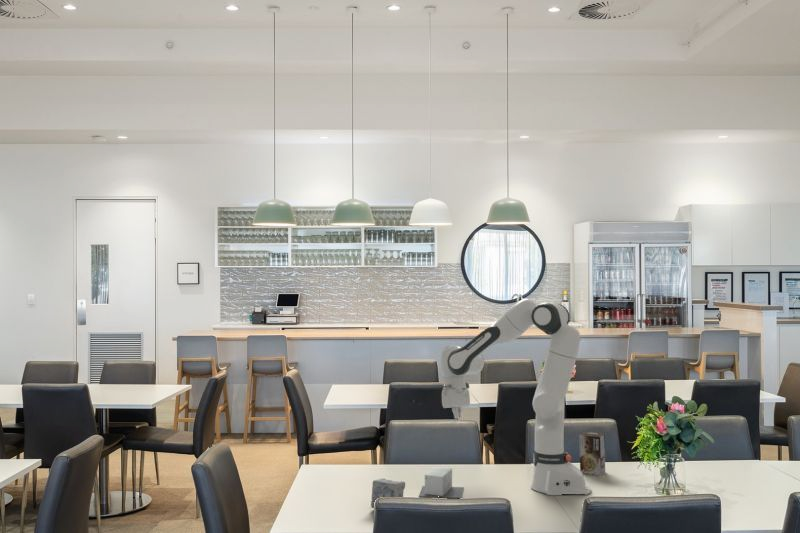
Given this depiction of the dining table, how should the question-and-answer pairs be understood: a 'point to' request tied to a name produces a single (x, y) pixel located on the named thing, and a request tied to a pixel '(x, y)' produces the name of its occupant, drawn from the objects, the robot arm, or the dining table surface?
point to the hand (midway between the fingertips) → (457, 418)
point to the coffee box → (592, 453)
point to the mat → (451, 493)
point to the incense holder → (386, 489)
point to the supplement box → (438, 481)
